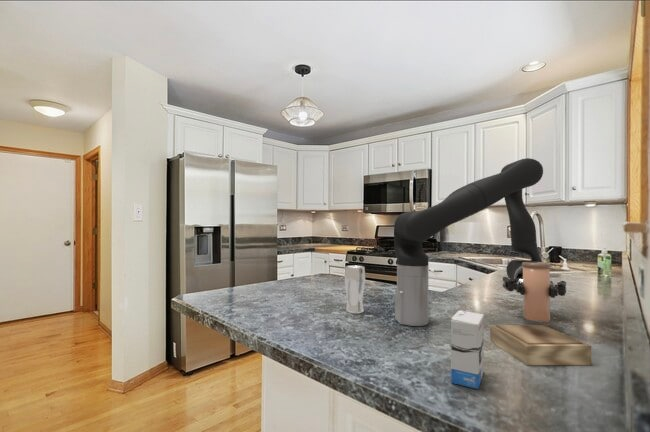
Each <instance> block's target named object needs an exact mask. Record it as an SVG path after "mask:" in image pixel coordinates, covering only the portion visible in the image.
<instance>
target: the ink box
mask: <svg viewBox="0 0 650 432" xmlns="http://www.w3.org/2000/svg"><path fill="white" fill-rule="evenodd" d="M484 316H485V315H484V314H483V313H479V312H478V313H477V312H473V311H466V310H458V311H456V313H455V314H454V315H453V316H452V317H451V319H450V327H451V328H450V339H451V340H450V341H451V343H450V350H451V351H450V358H451V359H450V383H451V384H455V385H458V386H463V387H466V388H470V389H475V390H479V388H480V385H481V382H482V379H483V375H484Z"/></svg>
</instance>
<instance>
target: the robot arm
mask: <svg viewBox="0 0 650 432" xmlns="http://www.w3.org/2000/svg"><path fill="white" fill-rule="evenodd" d="M543 175H544V168H543V165H542V163H541V162H540V161H538V160H536V159H534V158H531V157H529V158H528V157H527V158H522V159H519V160H516V161H513V162H510V163H508V164H506V165H504V166H503V167H502V168H501V171H500V172H499V173H495V174H493V175H490V176H487V177H484V178H483V177H482V178H480V179H478V180H475V181H473V182H470V183H467V184H466V185H463V186H461V187H459V188H458V189H455V190H454V191H452V192H451V193H450V194H449V195H447V197H446V198H445V199H443V200H441V202H439V203H438V204H435V205H433V206H429V207H428V208H423V209H422V210H418V211H405V212H402V213H401V214H399V215H398V216H397V218H396V219H395V221H394V226H393V244H394V245H393V248H394V254H395V258H396V262H397V263H396V287H395V289H394V319H395V320H396V322H398V324H399V325H405V326H412V327H423V326H427V325H428V324H429V319H430V318H429V317H430V314H429V256H428V255H427V254H426V252H425V251H424V249H423V242H425V241H427V240H429V239H430V238H432V237H433V236H435V235H436V234H438V233H439V232H441V231H442V230H445V229H446V228H448V227H449V226H451V225H453V224H455V223H458V222H460V221H462V220H465V219H467V218H469V217H471V216H473V215H475V214H478V213H479V212H482V211H483V210H485V209H487V208H488V207H491V206H492V205H494V204H497V203H498V202H499V201H501V200H503V199H504V202H505V207H506V211H507V214H508V215H507V216H508V220H509V227H510V228H509V229H510V241H511V242H510V243H511V250H512V251H513V252H514V253H519V254H525V255H527V256H529V257H530V260H529V259H526V260H525V259H524V260H523V259H514V260H511V261H509V262H508V263H507V266H506V268H505V270H506V274H507V276H504V277H502V287H503V288H504V289H505V290H506V291H509V292H514V290H515V291H516V293H519V294H520V296H523V295H524V284H523V266H522V262H543V260H542V258H541V256H540V253H539V249H538V242H537V228H536V225H535V221H534V220H533V218H532V216H531V214H530V213H529V211H528V209H527V208H526V205H525V203H524V200H523V190H524V189H526V188H529V187H532V186H535V185H536V184H537V183H538V182H539V183H540V181H541V179H542V177H543ZM566 293H567V281H565V280H560V281H557V283H554V282H553V281H552V280H550V299H552V298H553V299H555V298H556V297H558V296H561V297H564V296H566Z"/></svg>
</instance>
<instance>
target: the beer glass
mask: <svg viewBox="0 0 650 432" xmlns="http://www.w3.org/2000/svg"><path fill="white" fill-rule="evenodd" d="M365 269H366V267H365V266H363V265H358V264H357V265H356V264H355V265H354V264H353V265H352V264H351V265H345V267H344V288H345V294H346V306H345V312H346V313H349V314H353V315H354V314H362V313H364V309H365V308H364V303H363V300H364V292H365V288H366V270H365Z"/></svg>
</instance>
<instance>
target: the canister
mask: <svg viewBox="0 0 650 432" xmlns="http://www.w3.org/2000/svg"><path fill="white" fill-rule="evenodd" d="M522 266H523V284H524V295H522V299H523V302H522V303H523V306H522V309H523V312H522V313H523V318H525V319H527V320H529V321H535V322H550V321H551V297H550V281H551V279H550V268H551V263H549V262H543V261H542V262H522Z"/></svg>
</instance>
